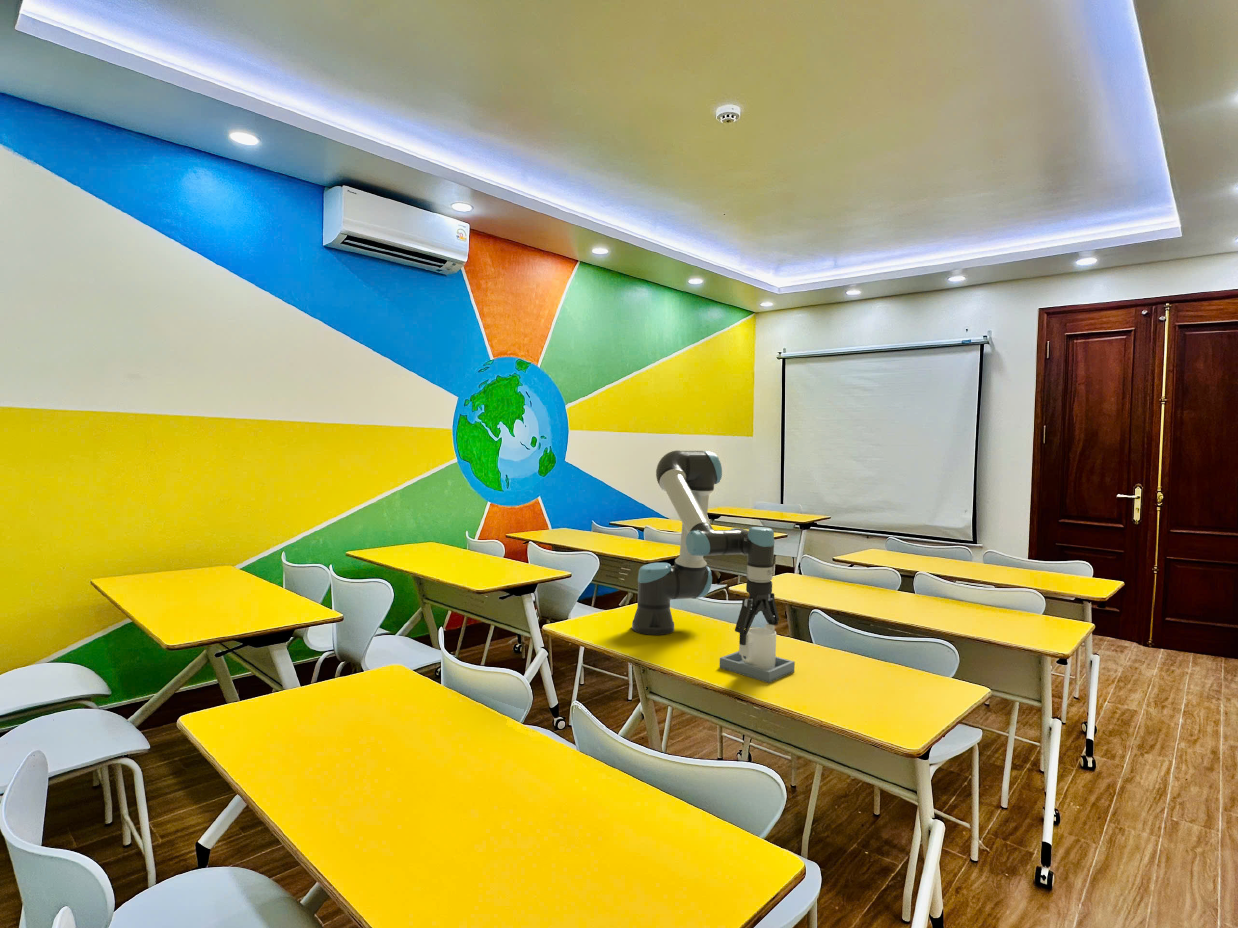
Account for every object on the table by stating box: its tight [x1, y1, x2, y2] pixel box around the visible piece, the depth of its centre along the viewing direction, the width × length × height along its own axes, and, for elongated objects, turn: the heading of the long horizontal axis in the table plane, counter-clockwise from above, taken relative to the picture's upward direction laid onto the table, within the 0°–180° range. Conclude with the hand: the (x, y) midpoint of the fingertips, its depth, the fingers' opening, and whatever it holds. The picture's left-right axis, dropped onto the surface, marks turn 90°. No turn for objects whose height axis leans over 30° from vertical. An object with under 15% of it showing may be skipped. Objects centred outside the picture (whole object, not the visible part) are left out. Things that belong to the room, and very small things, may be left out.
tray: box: [719, 650, 796, 684], centre depth 199 cm, size 17×14×3 cm
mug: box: [741, 627, 777, 671], centre depth 199 cm, size 9×12×11 cm
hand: (756, 650), depth 200 cm, fingers open, 13 cm apart
